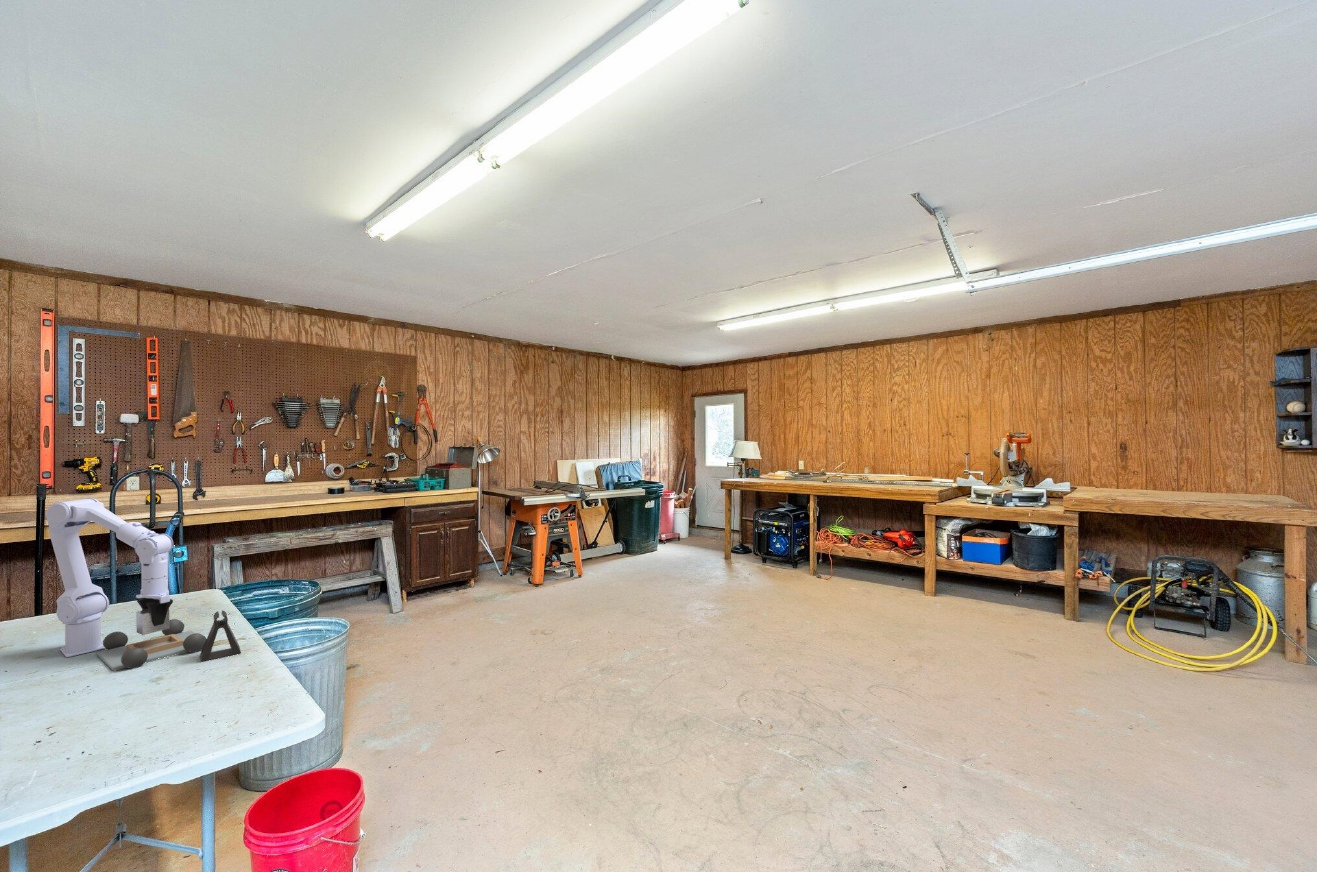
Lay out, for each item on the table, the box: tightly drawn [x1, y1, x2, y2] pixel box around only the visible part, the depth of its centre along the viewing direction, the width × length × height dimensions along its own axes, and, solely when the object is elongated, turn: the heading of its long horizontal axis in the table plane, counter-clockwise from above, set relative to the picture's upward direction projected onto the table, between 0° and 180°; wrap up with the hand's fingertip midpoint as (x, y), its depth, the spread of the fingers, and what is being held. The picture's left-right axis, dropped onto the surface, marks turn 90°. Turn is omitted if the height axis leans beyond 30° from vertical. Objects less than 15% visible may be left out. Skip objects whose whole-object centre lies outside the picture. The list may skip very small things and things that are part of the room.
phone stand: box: [199, 610, 242, 663], centre depth 157 cm, size 9×6×12 cm, turn 130°
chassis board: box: [96, 618, 207, 672], centre depth 160 cm, size 22×21×5 cm
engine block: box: [135, 608, 170, 636], centre depth 160 cm, size 4×6×6 cm
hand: (155, 623), depth 160 cm, fingers closed on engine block, 4 cm apart
